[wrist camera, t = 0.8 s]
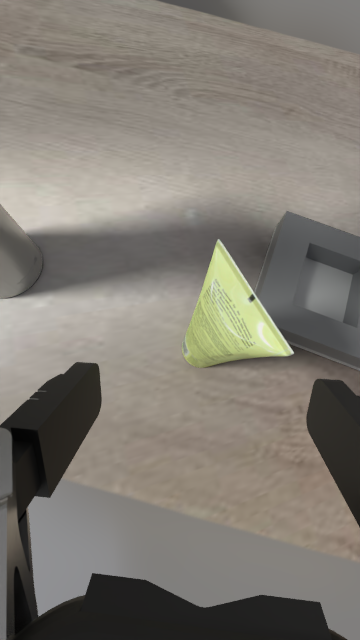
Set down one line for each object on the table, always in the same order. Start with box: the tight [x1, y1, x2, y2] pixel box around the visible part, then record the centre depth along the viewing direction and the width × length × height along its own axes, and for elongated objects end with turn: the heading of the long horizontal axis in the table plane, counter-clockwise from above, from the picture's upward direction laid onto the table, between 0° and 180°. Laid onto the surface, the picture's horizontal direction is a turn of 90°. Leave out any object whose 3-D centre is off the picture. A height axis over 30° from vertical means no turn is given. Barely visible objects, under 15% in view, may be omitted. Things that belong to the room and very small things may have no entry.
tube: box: [182, 239, 294, 368], centre depth 23 cm, size 6×5×20 cm
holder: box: [254, 211, 360, 371], centre depth 33 cm, size 16×16×4 cm
